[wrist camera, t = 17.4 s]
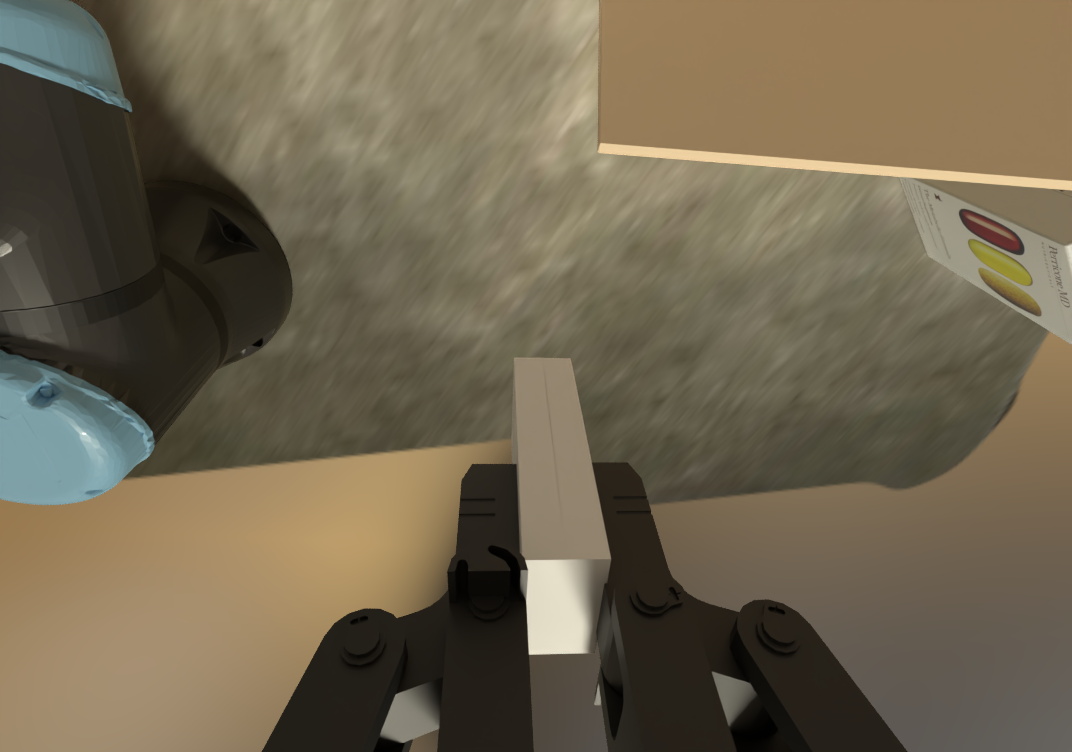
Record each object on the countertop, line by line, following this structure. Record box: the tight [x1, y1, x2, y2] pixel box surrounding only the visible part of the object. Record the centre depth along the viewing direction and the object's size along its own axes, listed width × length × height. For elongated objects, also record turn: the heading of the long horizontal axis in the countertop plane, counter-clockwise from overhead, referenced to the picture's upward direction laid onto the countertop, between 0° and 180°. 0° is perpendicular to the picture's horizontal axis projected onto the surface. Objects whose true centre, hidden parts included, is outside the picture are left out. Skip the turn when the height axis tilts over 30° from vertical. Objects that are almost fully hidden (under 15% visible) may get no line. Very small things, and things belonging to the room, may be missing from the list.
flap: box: [598, 0, 1072, 190], centre depth 25 cm, size 22×10×1 cm
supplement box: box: [899, 177, 1072, 345], centre depth 39 cm, size 10×9×17 cm
